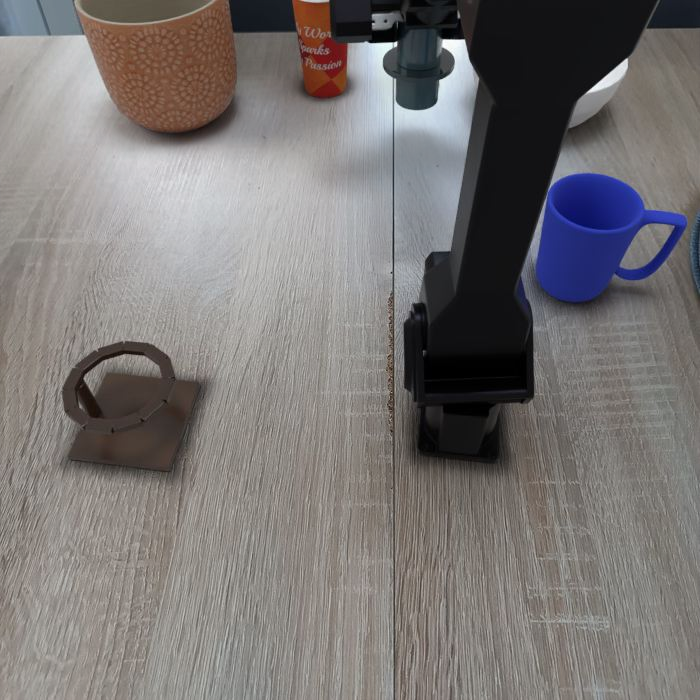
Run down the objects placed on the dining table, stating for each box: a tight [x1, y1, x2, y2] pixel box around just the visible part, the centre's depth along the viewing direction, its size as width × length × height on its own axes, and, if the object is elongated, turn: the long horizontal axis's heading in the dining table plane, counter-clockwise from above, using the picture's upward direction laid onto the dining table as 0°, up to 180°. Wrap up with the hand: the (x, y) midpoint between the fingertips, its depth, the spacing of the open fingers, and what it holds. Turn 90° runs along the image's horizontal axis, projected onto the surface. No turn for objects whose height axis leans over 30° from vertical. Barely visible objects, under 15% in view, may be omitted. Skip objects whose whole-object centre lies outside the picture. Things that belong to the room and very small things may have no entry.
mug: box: [535, 172, 688, 303], centre depth 61 cm, size 8×12×10 cm
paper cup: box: [291, 0, 349, 99], centre depth 84 cm, size 8×8×14 cm
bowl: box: [472, 58, 629, 129], centre depth 81 cm, size 18×18×7 cm
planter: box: [74, 0, 238, 134], centre depth 80 cm, size 17×17×15 cm
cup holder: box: [61, 340, 201, 472], centre depth 54 cm, size 9×9×6 cm
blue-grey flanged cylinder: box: [382, 11, 456, 111], centre depth 70 cm, size 8×8×10 cm
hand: (418, 35), depth 70 cm, fingers closed on blue-grey flanged cylinder, 5 cm apart
